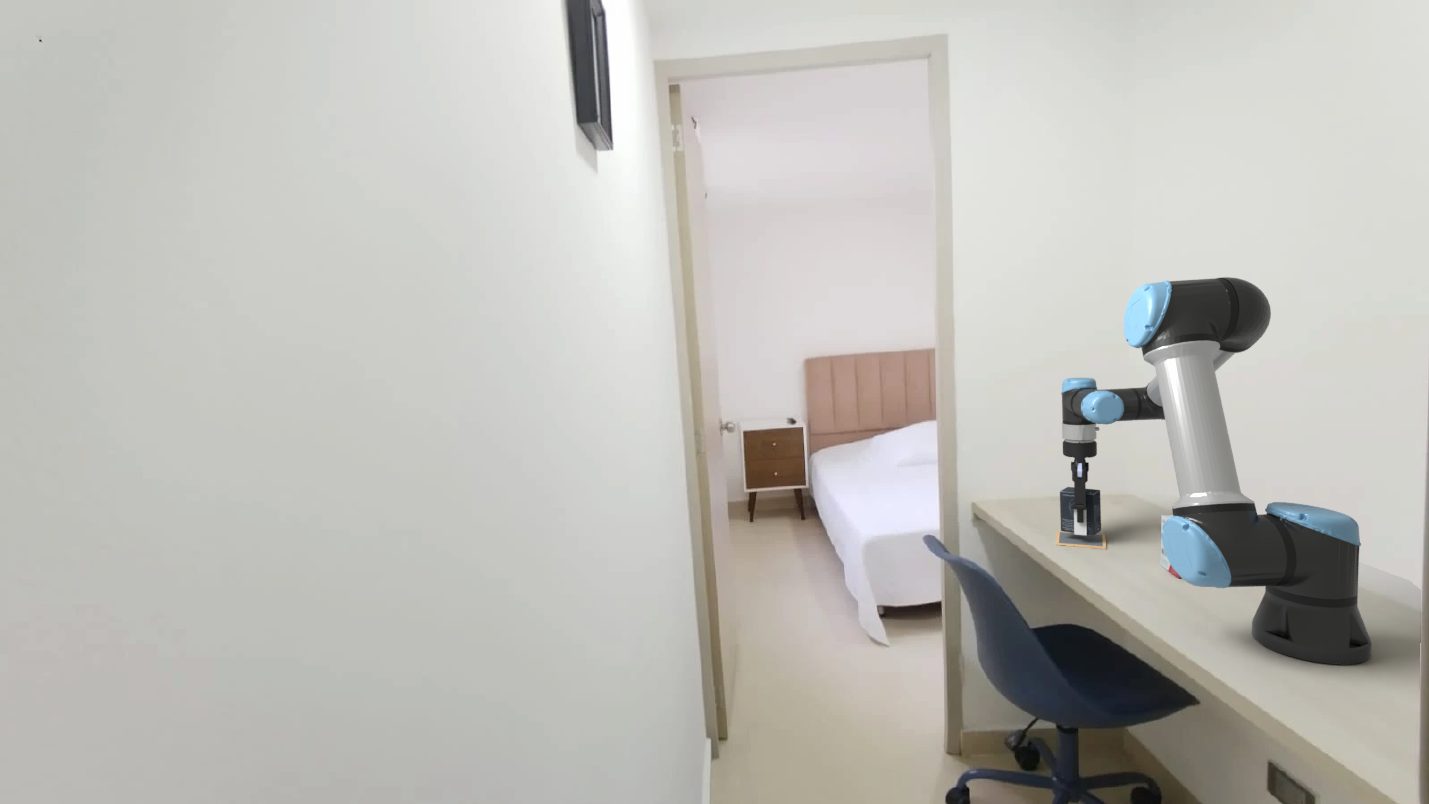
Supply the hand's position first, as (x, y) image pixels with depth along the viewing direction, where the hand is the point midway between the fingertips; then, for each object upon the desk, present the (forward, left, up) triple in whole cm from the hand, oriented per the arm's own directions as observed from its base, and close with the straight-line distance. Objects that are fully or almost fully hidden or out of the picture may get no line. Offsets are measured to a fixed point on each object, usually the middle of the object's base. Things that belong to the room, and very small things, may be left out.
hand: (1080, 530), depth 175 cm
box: (0, 0, -1) cm, 1 cm away
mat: (0, 0, -3) cm, 3 cm away
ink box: (-17, -21, -3) cm, 27 cm away
